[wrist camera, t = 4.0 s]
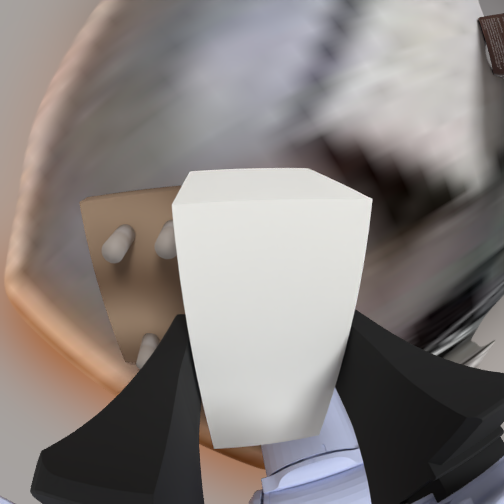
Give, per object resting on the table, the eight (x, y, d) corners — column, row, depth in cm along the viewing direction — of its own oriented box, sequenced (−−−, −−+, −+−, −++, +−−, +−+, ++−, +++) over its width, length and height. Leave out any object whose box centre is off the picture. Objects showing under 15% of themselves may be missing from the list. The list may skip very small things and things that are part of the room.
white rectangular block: (293, 360, 15) (319, 434, 10) (210, 368, 14) (214, 448, 10) (307, 168, 11) (372, 198, 6) (189, 171, 10) (171, 204, 6)
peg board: (230, 347, 21) (234, 383, 17) (128, 351, 20) (119, 386, 17) (217, 182, 16) (218, 196, 13) (87, 197, 15) (59, 215, 12)
